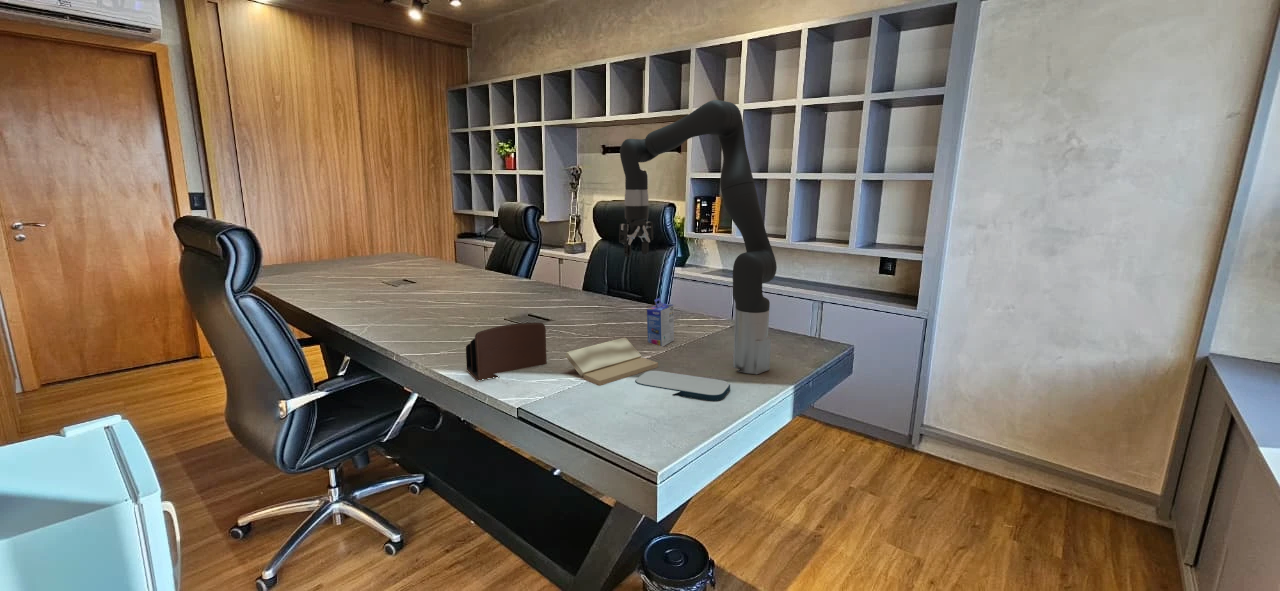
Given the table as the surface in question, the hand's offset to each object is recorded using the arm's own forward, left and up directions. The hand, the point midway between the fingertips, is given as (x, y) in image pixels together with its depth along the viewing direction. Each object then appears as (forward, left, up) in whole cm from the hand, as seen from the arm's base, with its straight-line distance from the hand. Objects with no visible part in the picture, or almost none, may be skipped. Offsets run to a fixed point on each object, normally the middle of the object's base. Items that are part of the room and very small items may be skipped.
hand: (636, 255), depth 185 cm
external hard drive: (-40, +22, -29) cm, 54 cm away
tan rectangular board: (-19, +28, -28) cm, 44 cm away
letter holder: (+3, +47, -29) cm, 55 cm away
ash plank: (-17, +28, -24) cm, 41 cm away
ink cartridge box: (-8, -3, -28) cm, 30 cm away
